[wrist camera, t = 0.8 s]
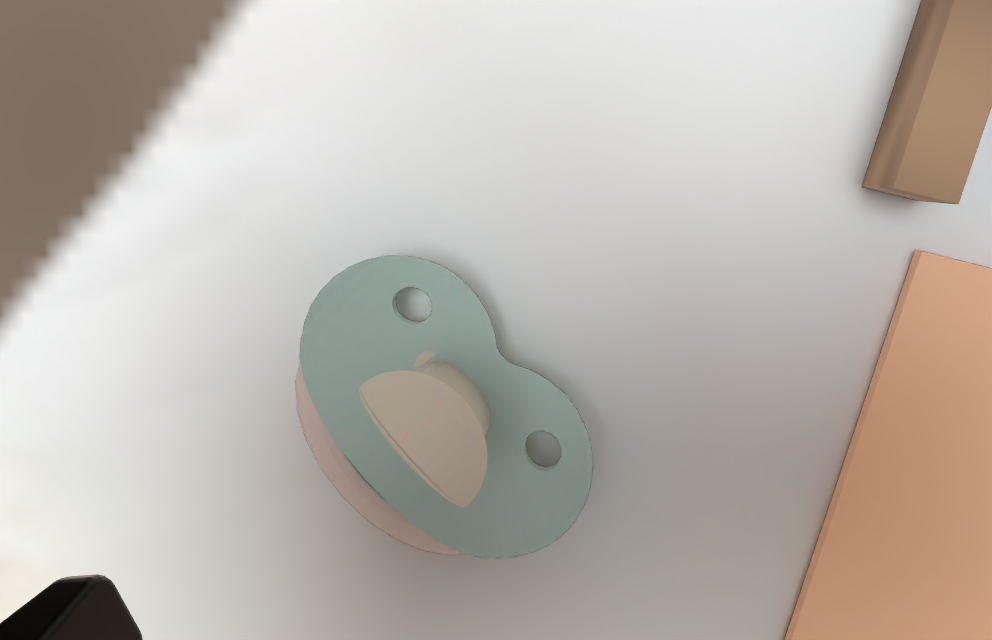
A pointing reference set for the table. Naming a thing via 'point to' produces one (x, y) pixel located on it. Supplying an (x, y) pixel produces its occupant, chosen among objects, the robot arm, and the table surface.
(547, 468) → the pacifier
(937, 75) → the walnut bracket
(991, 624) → the pad
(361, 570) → the table surface
